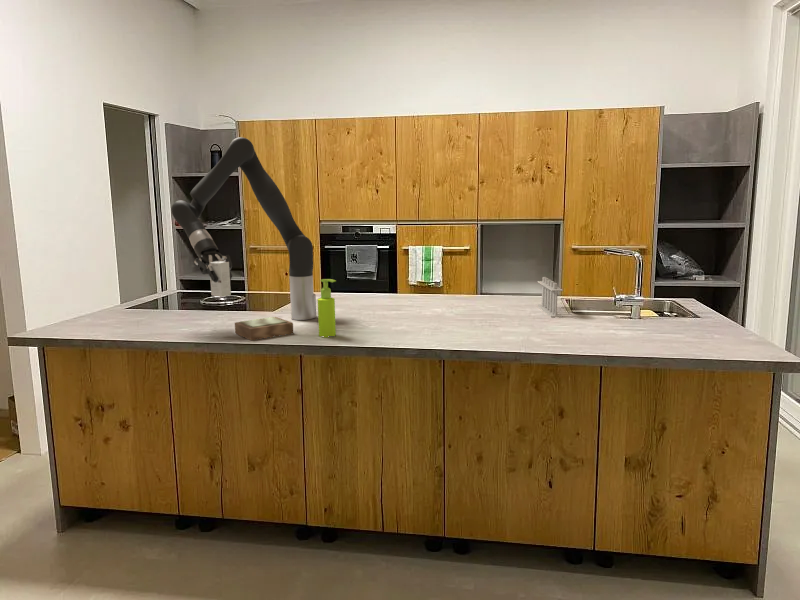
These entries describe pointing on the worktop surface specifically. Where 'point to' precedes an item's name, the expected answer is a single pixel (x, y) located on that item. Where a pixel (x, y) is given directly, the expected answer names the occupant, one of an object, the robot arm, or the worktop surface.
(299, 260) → the robot arm
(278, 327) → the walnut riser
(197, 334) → the worktop surface
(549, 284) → the test tube rack
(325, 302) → the soap dispenser
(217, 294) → the skincare box
